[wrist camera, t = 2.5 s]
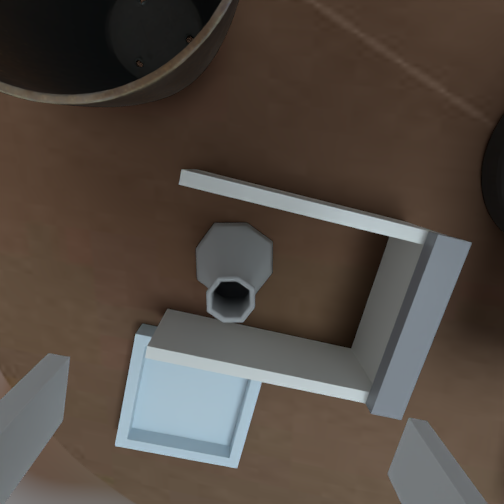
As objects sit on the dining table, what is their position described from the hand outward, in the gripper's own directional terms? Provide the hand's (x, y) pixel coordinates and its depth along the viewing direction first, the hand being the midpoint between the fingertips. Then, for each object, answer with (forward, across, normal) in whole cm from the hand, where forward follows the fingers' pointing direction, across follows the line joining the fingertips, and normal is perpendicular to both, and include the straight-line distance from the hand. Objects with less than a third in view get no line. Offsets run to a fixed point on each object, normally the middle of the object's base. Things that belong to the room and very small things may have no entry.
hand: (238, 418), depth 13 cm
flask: (+19, -1, +1) cm, 19 cm away
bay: (+19, +3, +1) cm, 19 cm away
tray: (+19, -2, -13) cm, 23 cm away
